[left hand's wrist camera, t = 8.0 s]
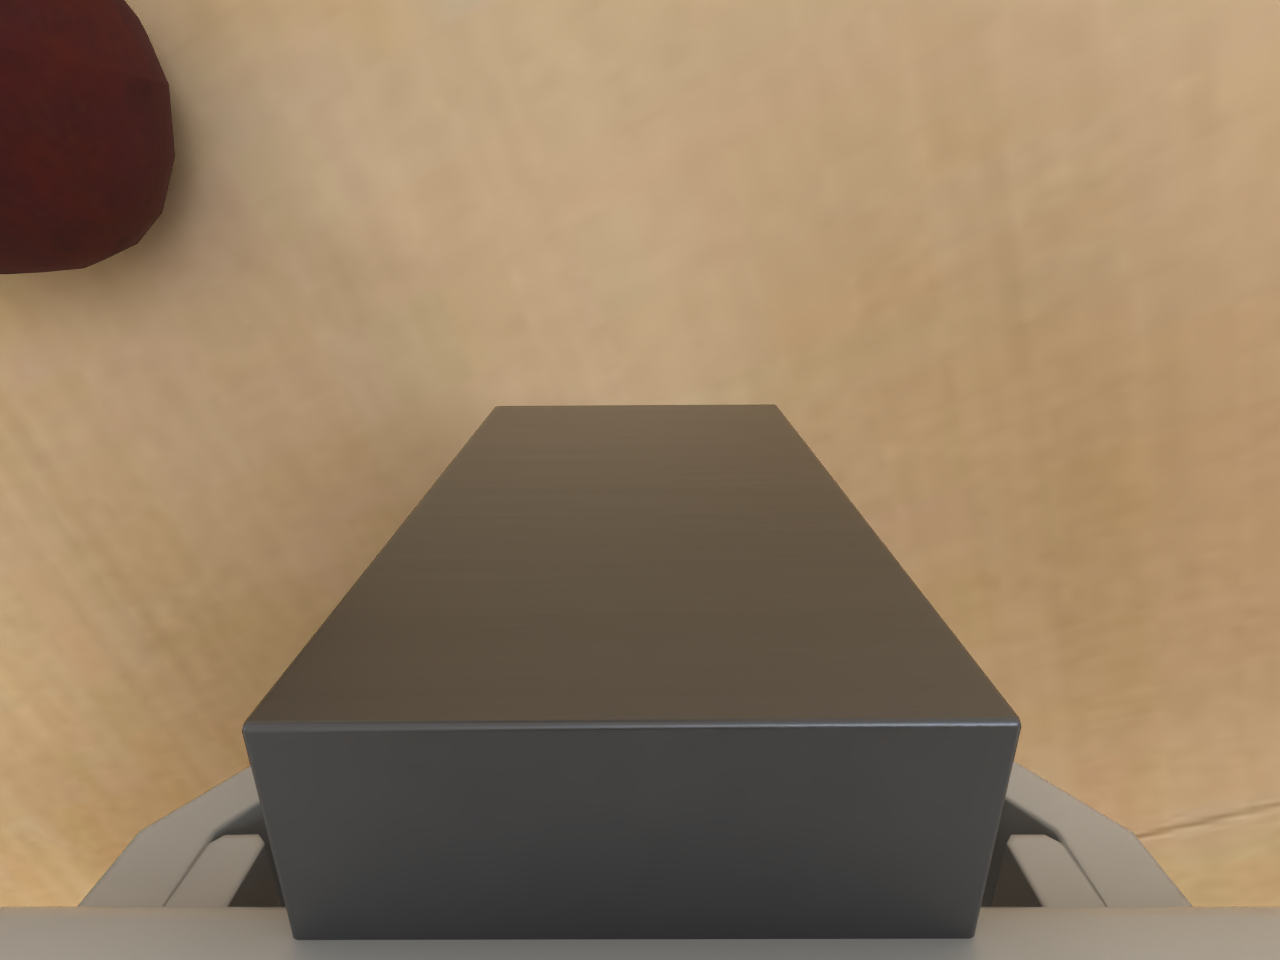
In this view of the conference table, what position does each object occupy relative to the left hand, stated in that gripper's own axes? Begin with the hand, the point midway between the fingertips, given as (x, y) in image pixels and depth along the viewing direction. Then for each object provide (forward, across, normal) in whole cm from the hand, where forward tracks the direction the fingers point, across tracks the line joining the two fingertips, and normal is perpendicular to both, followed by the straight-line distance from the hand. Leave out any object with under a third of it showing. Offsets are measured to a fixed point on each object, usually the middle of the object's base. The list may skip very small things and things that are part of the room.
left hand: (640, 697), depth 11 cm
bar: (+4, 0, -9) cm, 10 cm away
